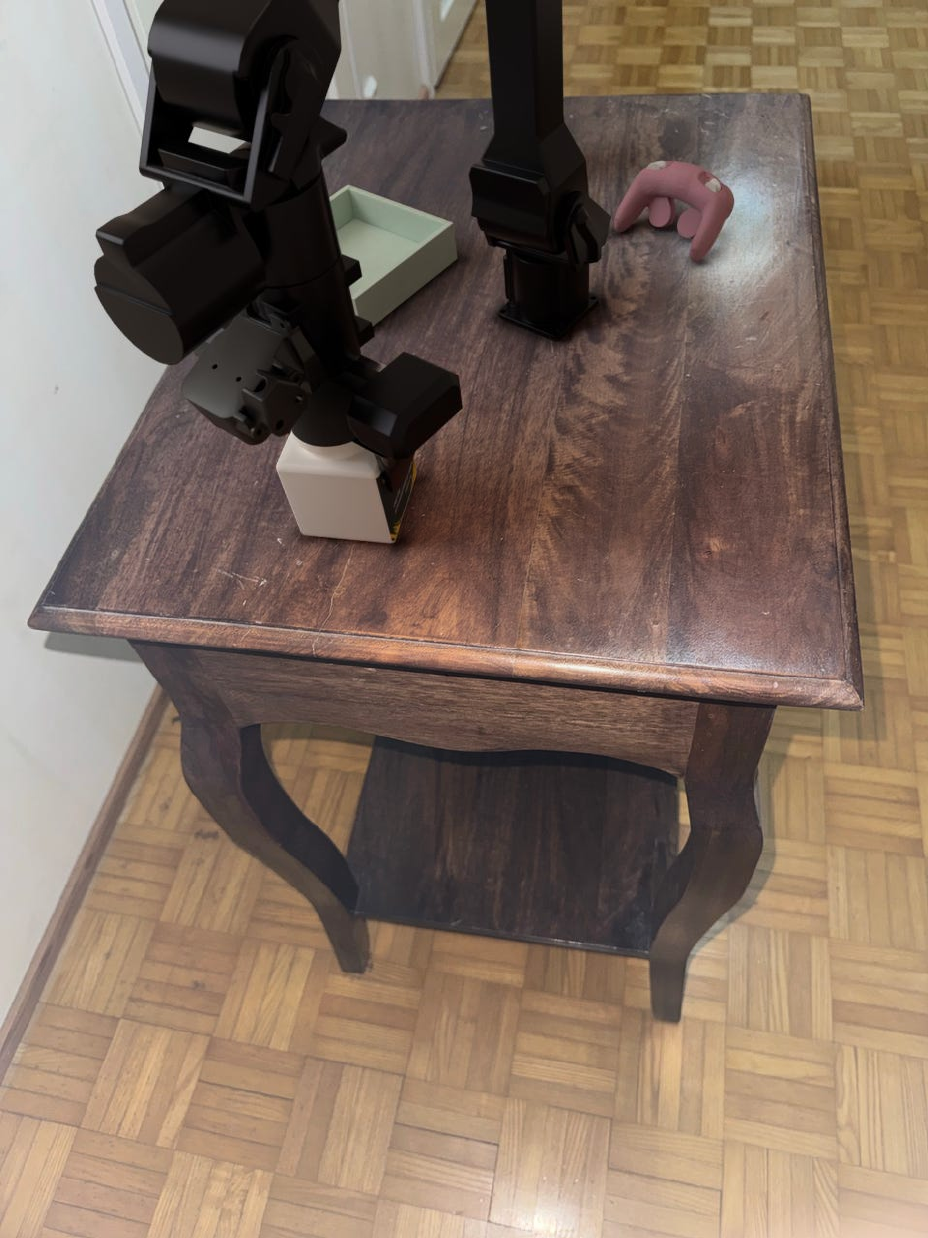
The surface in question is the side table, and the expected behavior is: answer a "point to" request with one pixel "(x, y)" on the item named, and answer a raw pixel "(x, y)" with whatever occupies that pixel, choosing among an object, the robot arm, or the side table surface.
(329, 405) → the medicine bottle
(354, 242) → the tray
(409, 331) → the side table surface
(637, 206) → the video game controller
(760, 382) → the side table surface
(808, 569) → the side table surface
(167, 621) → the side table surface
